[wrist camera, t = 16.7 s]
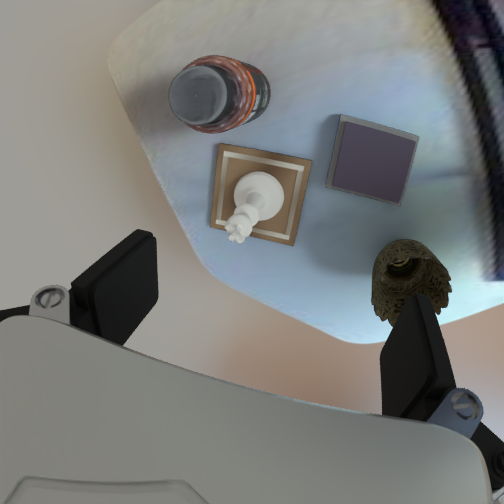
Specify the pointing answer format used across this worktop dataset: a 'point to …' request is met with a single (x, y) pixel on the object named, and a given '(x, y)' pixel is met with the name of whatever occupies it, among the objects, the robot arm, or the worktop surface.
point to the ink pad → (371, 160)
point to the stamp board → (278, 165)
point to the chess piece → (254, 203)
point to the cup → (407, 278)
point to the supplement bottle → (218, 94)
